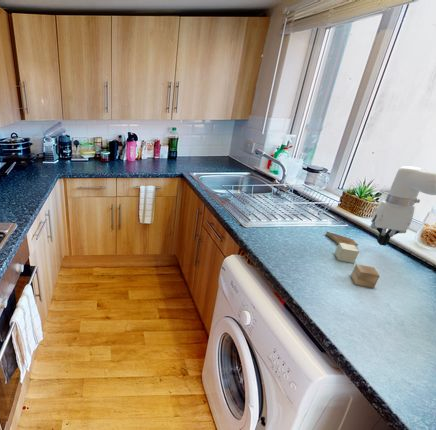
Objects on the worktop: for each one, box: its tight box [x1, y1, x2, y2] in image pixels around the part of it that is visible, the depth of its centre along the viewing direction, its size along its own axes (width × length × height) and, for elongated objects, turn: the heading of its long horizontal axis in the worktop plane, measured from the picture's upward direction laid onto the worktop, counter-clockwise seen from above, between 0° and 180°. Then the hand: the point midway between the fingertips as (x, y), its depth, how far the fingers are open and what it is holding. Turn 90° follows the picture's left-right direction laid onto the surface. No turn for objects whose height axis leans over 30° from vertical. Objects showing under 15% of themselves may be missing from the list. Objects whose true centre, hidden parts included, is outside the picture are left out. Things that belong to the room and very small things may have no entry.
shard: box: [325, 230, 359, 248], centre depth 121 cm, size 11×8×2 cm
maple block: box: [350, 263, 381, 289], centre depth 95 cm, size 5×5×5 cm
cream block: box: [334, 243, 360, 264], centre depth 108 cm, size 5×5×5 cm
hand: (381, 243), depth 113 cm, fingers closed
